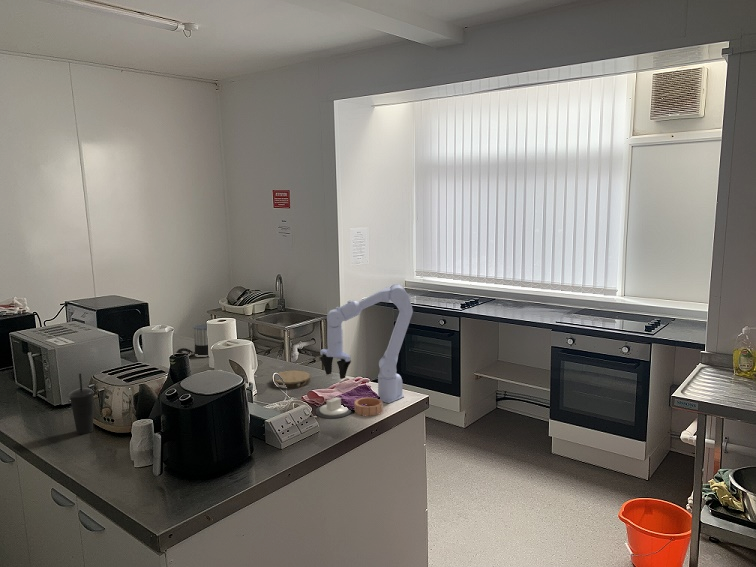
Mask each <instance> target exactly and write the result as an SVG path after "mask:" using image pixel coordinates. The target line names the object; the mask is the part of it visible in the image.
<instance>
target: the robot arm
mask: <svg viewBox="0 0 756 567" xmlns="http://www.w3.org/2000/svg"><path fill="white" fill-rule="evenodd" d="M390 301H391V303H393V305H395V306H396V307H397V309H398V311H399V312H398V316H397V318H396V321H395V324H394V326H393V330H392V332H391V336H390V339H389V341H388V345H387V348H386V349H385V352H384V353H383V356H382V357H381V358H380V359H379V360H378V367H379V373H378V374H377V375H378V376H377V388H378V389H377V396H378V395H379V397H380V400H381V401H382V402H383V403H387V404H390V403H394V402H395V401H398V400H399V399H402V398H405V395H403V379H402V376H401V375H400V374H399V373H397V371H398V370H397V363H398V360H399V353H400V351H401V348H402V345H403V342H404V339H405V337H406V333H407V331H408V328H409V325H410V321H411V319H412V316H413V313H414V308H413V306H412V302H411V298H410V295H409V293H408V292H407V291H406V290H405V287H403V286H402V285H401V284H398V283H395V284H392V285H391V286H386V287H385V288H382V289H380V290H378V291H376V292H374V293H372V294H370V295H369V296H367V297H365V298H363V299H361V300H360V301H356V300H352V301H351V300H348V301H347V303H345V304H343V305H341V306H336V307H335V309H330V310H329V311H328V312H327V315H326V321H327V330H326V331H327V332H326V335H327V336H326V337H327V349H325V348H323V349H320V352H319V353H320V356H319V361H321V363H322V365H323V367H324V371H325V375H326V376H328V375H331V374H332V371H333V370H332V369H333V360H334V358H335V359H337V360H338V359H339V360H338V361H336V364H337V367H338V372H339V373H338V374H339V379H340V380H343V379H346V375H347V372H348V368H349V366H350V364H351V363H352V356H351V355H349V354H347V353H346V352H345V351H344V350H343V348H344V345H343V344H344V342H343V335H344V334H343V328H342V327H343V326H342V325H343V322H347V321H349V320H351V319H353V318H355V317H357V316H359V315H361V313H362V310H364V309H366V308H369V307H372V306H373V305H376V304H378V303H380V302H382V303H390Z"/></svg>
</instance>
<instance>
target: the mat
mask: <svg viewBox="0 0 756 567" xmlns="http://www.w3.org/2000/svg"><path fill="white" fill-rule="evenodd" d="M321 406H322V405H320V406H319V407H317V408H316V409H315V414H316V415H317V416H318V417H320V418H324V419H342V418H345V417H348V416H349V415H350V414H352V411H351V410H352V409H351V410H349V409H348V412H346V413H344V414H342V415H335V416H330V415H324V414H322V413H320V407H321Z"/></svg>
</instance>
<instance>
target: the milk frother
mask: <svg viewBox="0 0 756 567" xmlns="http://www.w3.org/2000/svg"><path fill="white" fill-rule="evenodd" d="M207 324H208V323H205V324H204V323H202V324H195V325H193V326H192V327H193V328H192V329H193V338H194V341H193V342H194V355H195V354H198V355H208V344H207V342H208V338H207ZM184 352H187V353H188V352H189V353H190V352H191V353H192V352H193V350H191V349H188V348H186V347H185V348H184V347H183V348H179V349H178V350H177V351H176V353H184ZM176 353H175V354H176ZM189 353H188V354H189Z"/></svg>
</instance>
